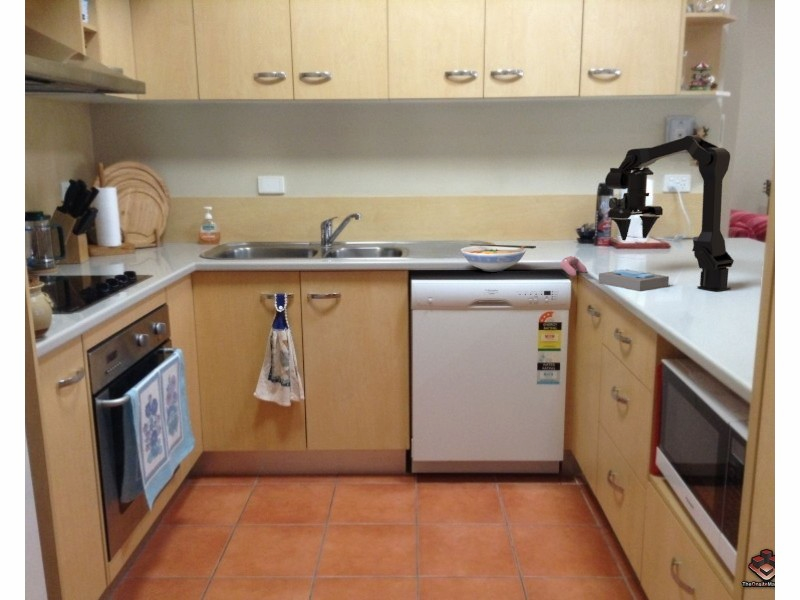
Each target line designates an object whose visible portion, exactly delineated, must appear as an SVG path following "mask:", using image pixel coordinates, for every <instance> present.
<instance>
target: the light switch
mask: <svg viewBox="0 0 800 600" xmlns="http://www.w3.org/2000/svg"><path fill="white" fill-rule="evenodd" d="M625 270H628V269H625ZM613 271H614V270H613ZM613 271H606V272H599V273H598V284H603V285H607V286H613V287H617V288H618V287H619V288H622V289H623V288H624V289H627V290H632V291H638V292H643V291H649V290H655V289H662V288H667V287H668V288H669V284H670V283H669V282H670V280H669V279H670V276H669V275H664V274H663V275H662V274H655V273H650V272H646V273H647V274H653V275H654V277H649V278H634V277H628V276H623V275H621V274H618V273H613ZM661 287H662V288H661Z"/></svg>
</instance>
